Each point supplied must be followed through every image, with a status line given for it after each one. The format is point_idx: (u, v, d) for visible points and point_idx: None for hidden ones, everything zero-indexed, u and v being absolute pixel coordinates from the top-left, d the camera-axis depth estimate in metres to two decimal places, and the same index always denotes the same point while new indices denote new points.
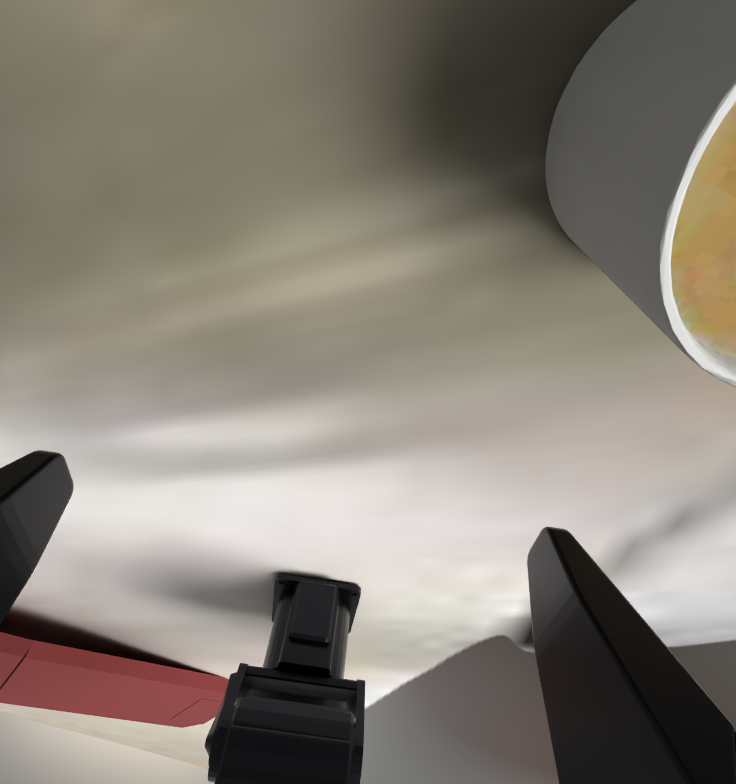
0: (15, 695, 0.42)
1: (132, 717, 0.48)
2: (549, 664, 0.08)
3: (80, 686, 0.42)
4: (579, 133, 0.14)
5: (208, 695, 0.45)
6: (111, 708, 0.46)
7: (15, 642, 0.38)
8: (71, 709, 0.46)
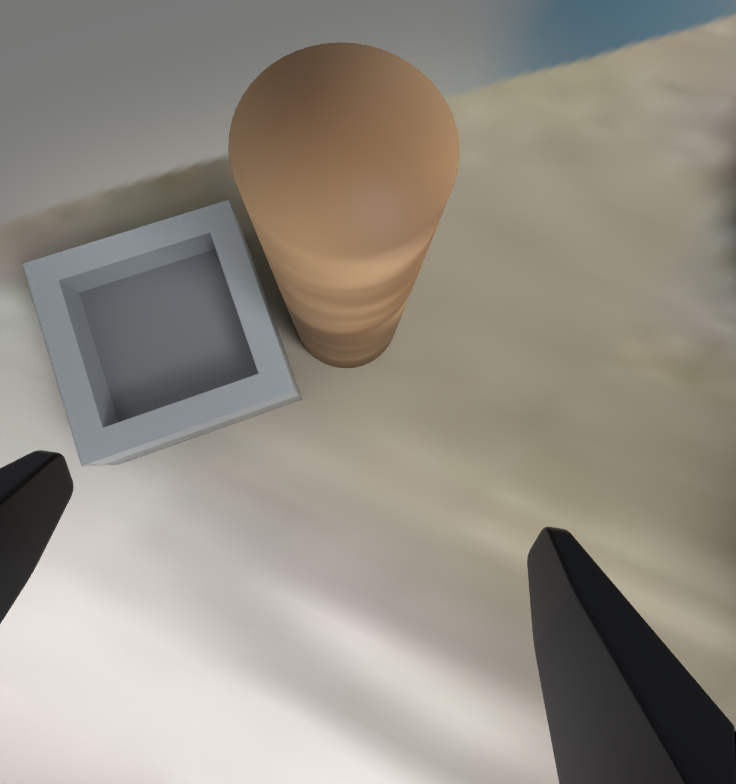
0: None
1: None
2: (549, 664, 0.08)
3: None
4: None
5: None
6: None
7: None
8: None
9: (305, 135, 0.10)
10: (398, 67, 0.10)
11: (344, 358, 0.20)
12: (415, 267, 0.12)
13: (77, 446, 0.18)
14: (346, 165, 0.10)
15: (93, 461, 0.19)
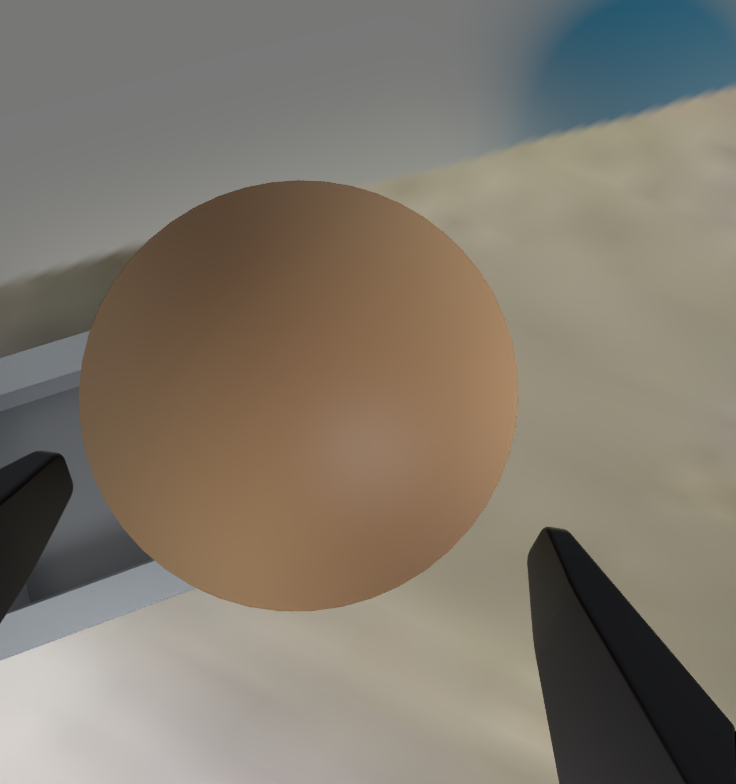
0: None
1: None
2: (549, 664, 0.08)
3: None
4: None
5: None
6: None
7: None
8: None
9: (228, 361, 0.05)
10: (403, 227, 0.06)
11: None
12: None
13: None
14: (304, 420, 0.05)
15: None
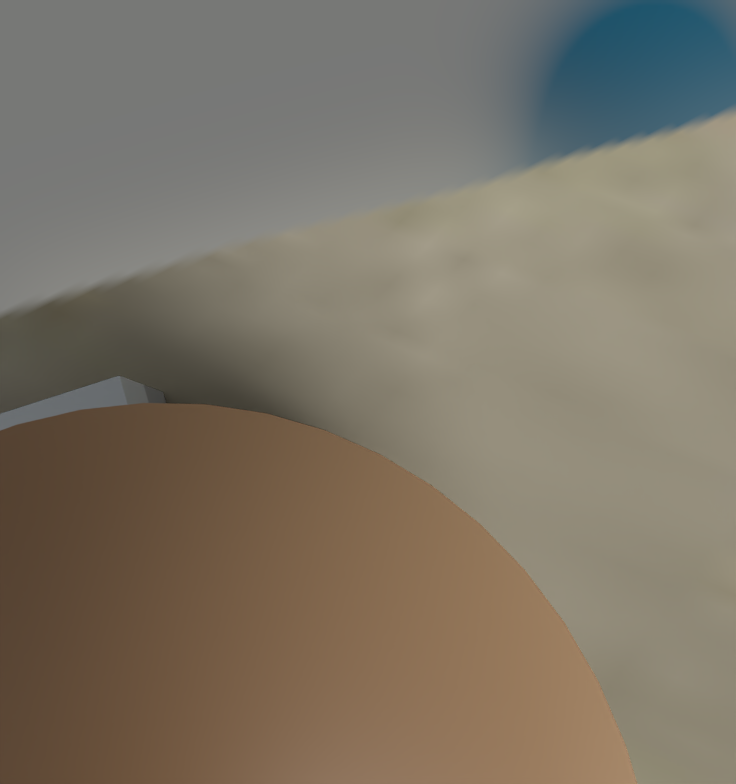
0: None
1: None
2: None
3: None
4: None
5: None
6: None
7: None
8: None
9: None
10: (386, 514, 0.02)
11: None
12: None
13: None
14: None
15: None
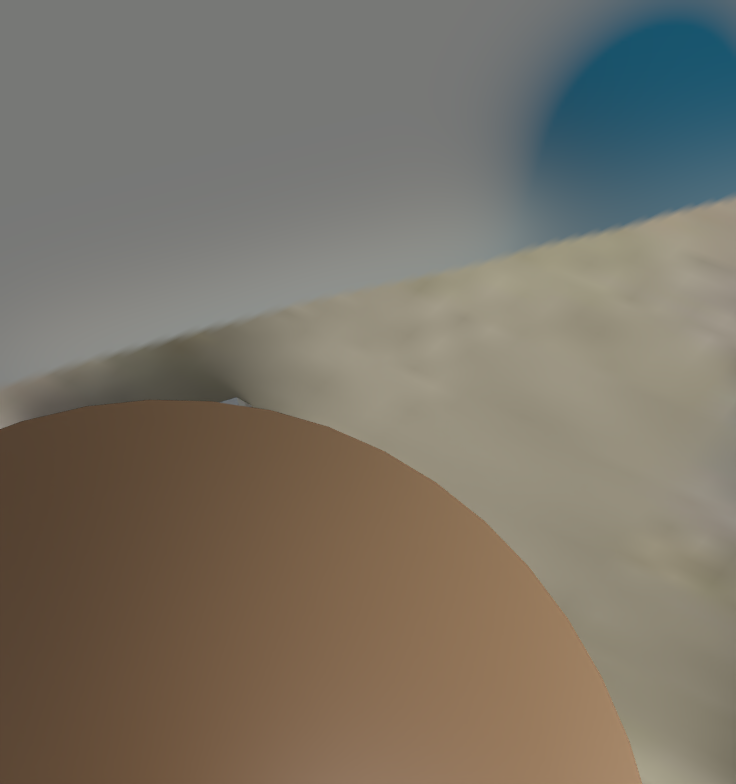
0: None
1: None
2: None
3: None
4: None
5: None
6: None
7: None
8: None
9: None
10: (392, 510, 0.02)
11: None
12: None
13: None
14: None
15: None
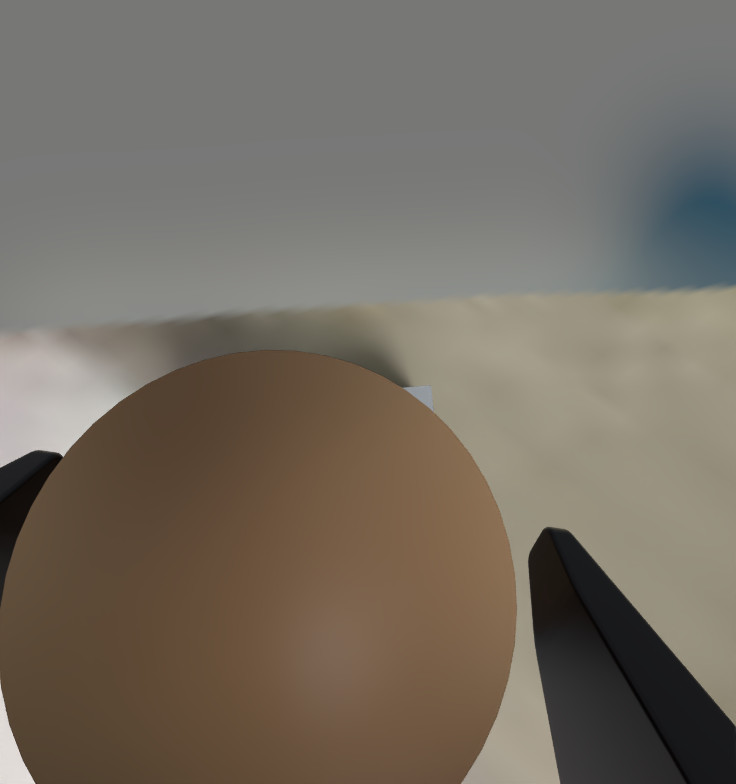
0: None
1: None
2: (550, 664, 0.08)
3: None
4: None
5: None
6: None
7: None
8: None
9: (179, 569, 0.05)
10: (384, 403, 0.05)
11: None
12: None
13: None
14: (267, 643, 0.04)
15: None
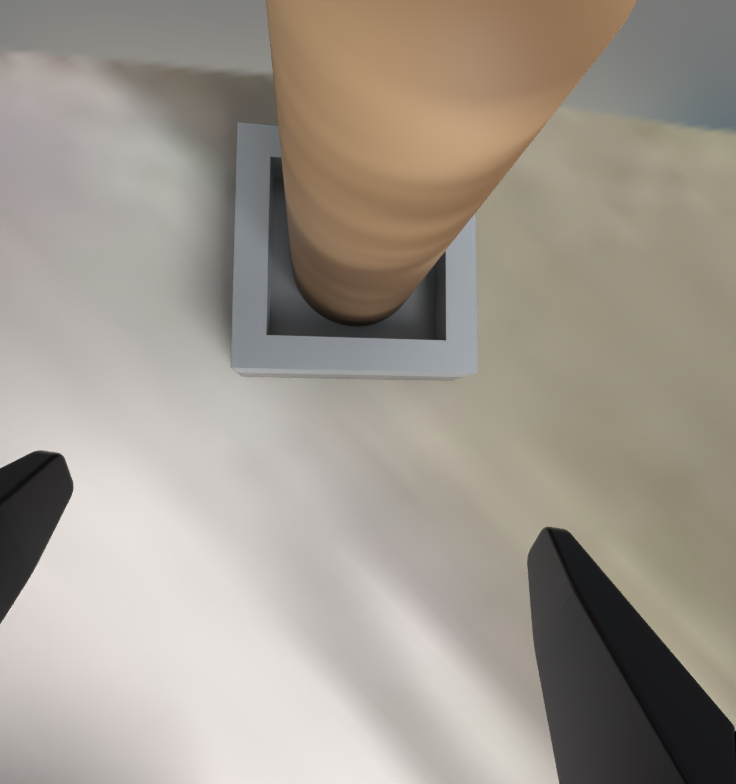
0: None
1: None
2: (549, 664, 0.08)
3: None
4: None
5: None
6: None
7: None
8: None
9: None
10: None
11: (351, 311, 0.16)
12: (505, 171, 0.08)
13: (233, 344, 0.16)
14: None
15: (244, 367, 0.16)
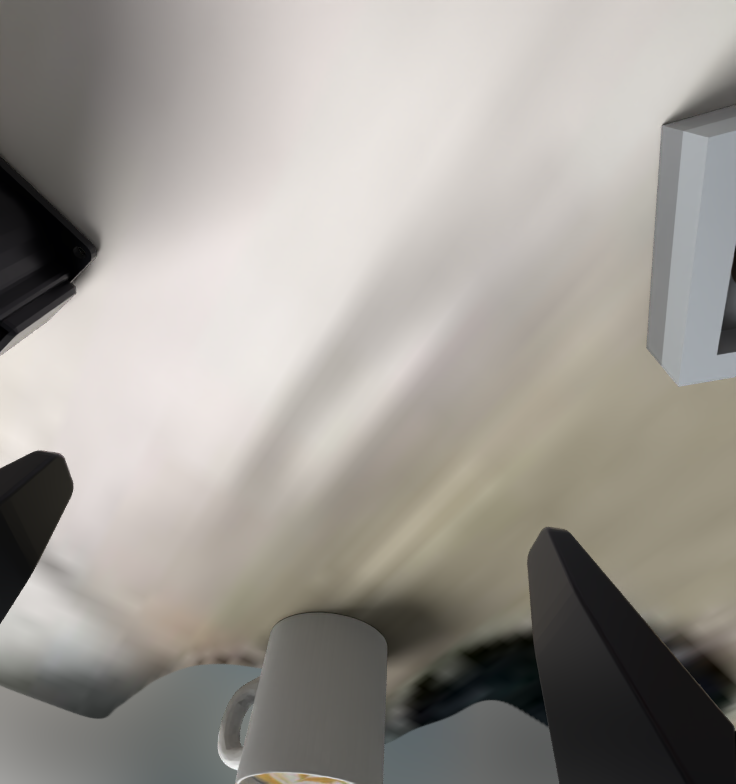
0: None
1: None
2: (549, 664, 0.08)
3: None
4: (370, 673, 0.34)
5: None
6: None
7: None
8: None
9: None
10: None
11: None
12: None
13: None
14: None
15: (706, 154, 0.14)
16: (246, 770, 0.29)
